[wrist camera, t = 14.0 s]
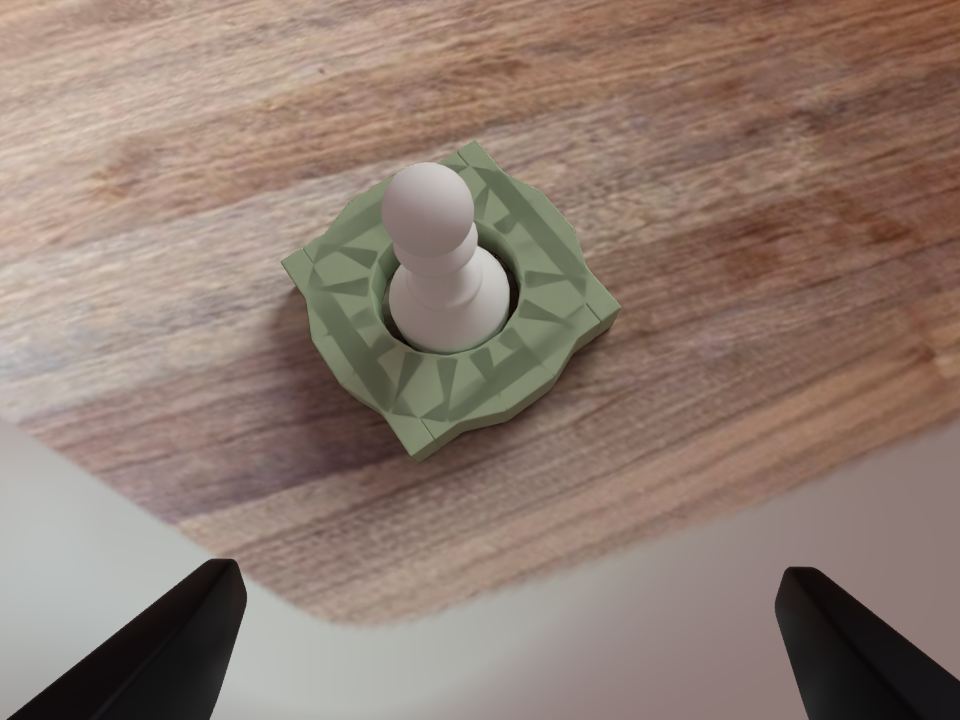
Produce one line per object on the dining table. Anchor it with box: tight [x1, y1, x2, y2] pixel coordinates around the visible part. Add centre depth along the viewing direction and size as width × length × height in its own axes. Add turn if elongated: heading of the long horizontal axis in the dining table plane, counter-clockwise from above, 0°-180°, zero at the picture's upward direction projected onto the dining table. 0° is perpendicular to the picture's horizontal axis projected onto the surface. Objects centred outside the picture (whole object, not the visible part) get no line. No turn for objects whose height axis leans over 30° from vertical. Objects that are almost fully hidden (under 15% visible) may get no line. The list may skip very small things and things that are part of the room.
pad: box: [281, 140, 621, 463], centre depth 23 cm, size 11×11×2 cm
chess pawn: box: [381, 163, 510, 356], centre depth 20 cm, size 5×5×9 cm
